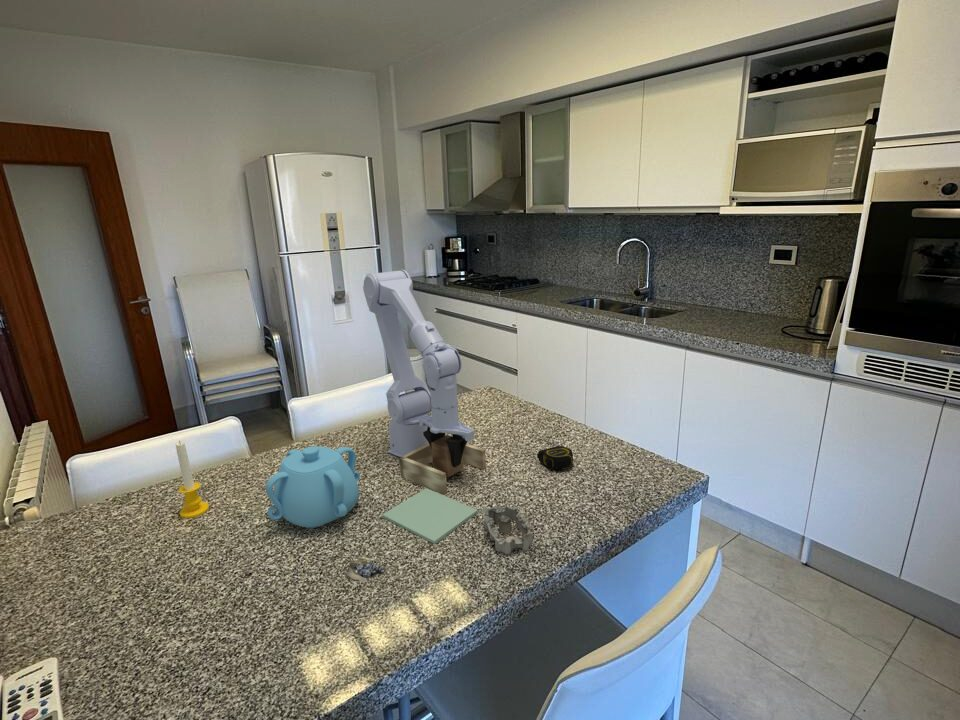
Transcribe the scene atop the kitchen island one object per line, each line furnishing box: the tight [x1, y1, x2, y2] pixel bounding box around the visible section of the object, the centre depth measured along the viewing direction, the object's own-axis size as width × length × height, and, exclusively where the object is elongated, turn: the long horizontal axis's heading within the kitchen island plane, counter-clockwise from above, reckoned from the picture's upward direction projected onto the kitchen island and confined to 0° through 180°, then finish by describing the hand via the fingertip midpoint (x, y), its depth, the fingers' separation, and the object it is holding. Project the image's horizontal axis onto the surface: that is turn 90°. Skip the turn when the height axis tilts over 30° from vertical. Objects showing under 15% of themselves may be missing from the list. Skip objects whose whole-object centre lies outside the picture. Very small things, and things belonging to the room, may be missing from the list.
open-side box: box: [398, 443, 487, 495], centre depth 114 cm, size 13×14×4 cm
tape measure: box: [536, 445, 574, 471], centre depth 115 cm, size 7×7×4 cm
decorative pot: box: [265, 445, 361, 530], centre depth 99 cm, size 16×16×14 cm
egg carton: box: [482, 505, 535, 555], centre depth 91 cm, size 10×7×4 cm
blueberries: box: [345, 555, 387, 583], centre depth 84 cm, size 7×8×2 cm
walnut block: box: [431, 434, 464, 478], centre depth 112 cm, size 4×5×7 cm
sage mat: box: [381, 487, 479, 545], centre depth 98 cm, size 14×12×1 cm
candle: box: [175, 440, 210, 519], centre depth 101 cm, size 5×5×16 cm
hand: (448, 462), depth 113 cm, fingers closed on walnut block, 4 cm apart
